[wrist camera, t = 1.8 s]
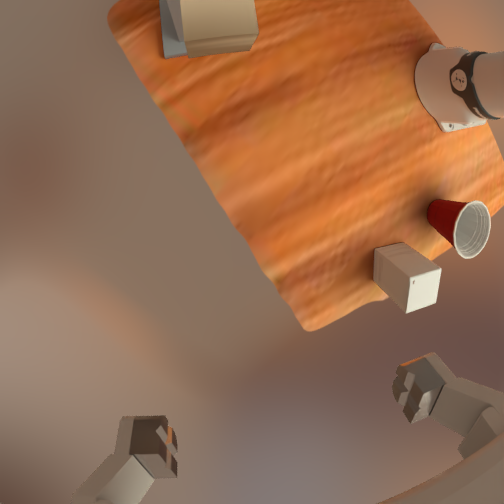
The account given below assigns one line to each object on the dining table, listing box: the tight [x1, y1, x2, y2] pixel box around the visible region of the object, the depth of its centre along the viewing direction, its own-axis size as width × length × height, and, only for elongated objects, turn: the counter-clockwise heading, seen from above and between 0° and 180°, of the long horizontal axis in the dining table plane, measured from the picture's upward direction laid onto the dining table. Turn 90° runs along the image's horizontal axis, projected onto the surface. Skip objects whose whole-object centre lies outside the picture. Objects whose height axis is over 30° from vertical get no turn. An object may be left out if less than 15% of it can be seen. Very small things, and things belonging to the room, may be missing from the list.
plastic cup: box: [427, 199, 491, 258], centre depth 49 cm, size 11×11×12 cm
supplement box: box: [373, 242, 441, 313], centre depth 51 cm, size 7×7×13 cm
